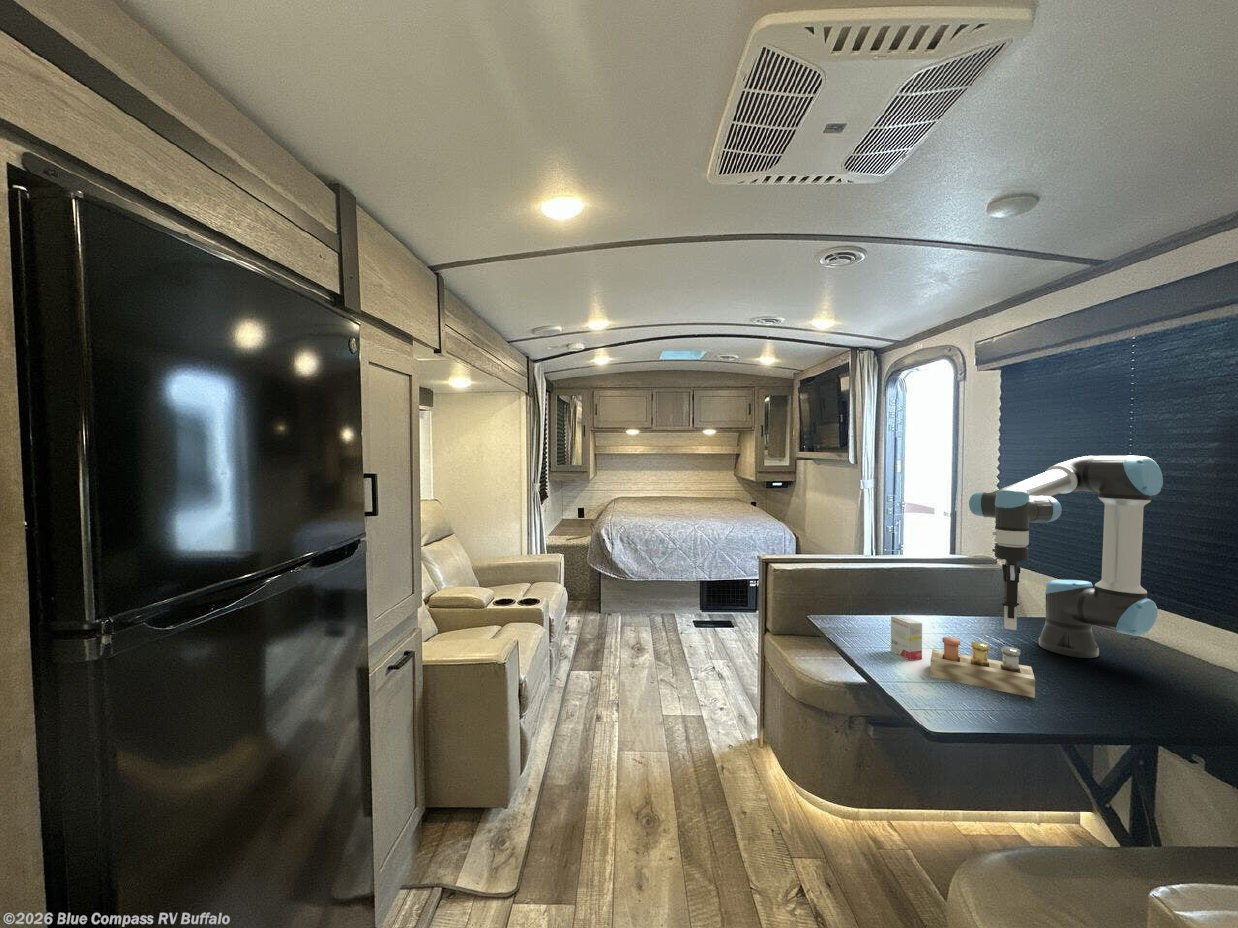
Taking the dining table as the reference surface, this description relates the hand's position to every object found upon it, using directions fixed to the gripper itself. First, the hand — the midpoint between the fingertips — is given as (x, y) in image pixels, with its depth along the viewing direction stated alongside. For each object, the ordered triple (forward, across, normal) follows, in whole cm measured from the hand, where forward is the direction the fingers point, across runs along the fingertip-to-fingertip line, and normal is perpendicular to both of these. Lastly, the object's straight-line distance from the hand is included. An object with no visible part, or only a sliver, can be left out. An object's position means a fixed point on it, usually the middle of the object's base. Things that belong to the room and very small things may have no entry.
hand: (1010, 628), depth 145 cm
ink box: (+17, -10, -26) cm, 33 cm away
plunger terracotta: (+12, 0, -14) cm, 19 cm away
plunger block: (+16, 0, -7) cm, 18 cm away
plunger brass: (+12, 0, -7) cm, 14 cm away
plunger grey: (+12, 0, 0) cm, 12 cm away
